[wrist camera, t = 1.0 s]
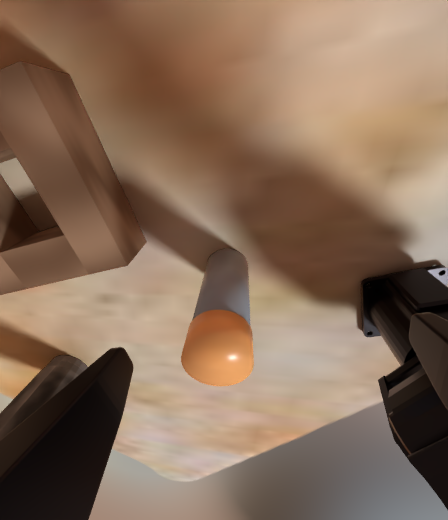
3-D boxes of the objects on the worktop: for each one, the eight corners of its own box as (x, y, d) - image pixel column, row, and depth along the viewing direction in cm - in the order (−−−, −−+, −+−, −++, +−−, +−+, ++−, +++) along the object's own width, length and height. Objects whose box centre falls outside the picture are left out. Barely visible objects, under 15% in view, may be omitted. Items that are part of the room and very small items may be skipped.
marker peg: (253, 280, 22) (260, 381, 14) (213, 288, 23) (194, 389, 14) (243, 243, 21) (243, 330, 12) (200, 253, 21) (170, 342, 13)
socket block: (146, 242, 21) (127, 265, 18) (30, 270, 23) (-7, 296, 20) (69, 74, 16) (20, 60, 12) (-71, 132, 18) (-146, 134, 15)
